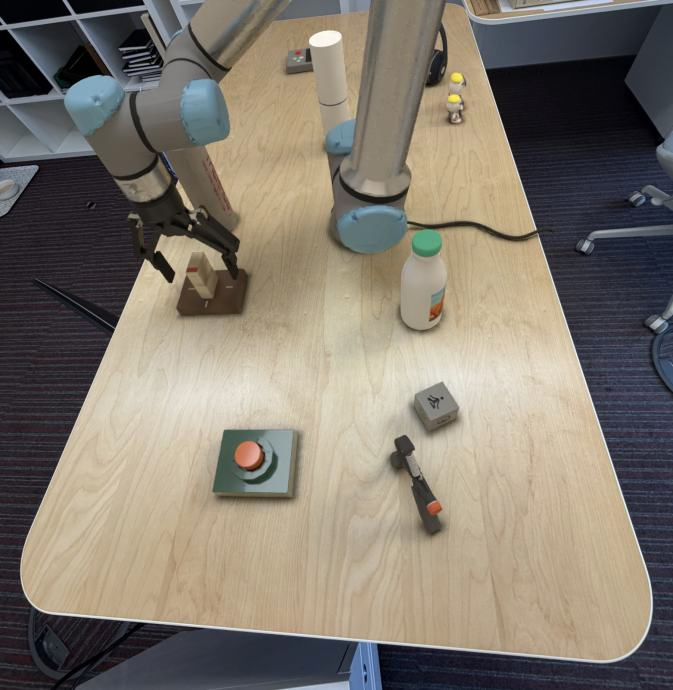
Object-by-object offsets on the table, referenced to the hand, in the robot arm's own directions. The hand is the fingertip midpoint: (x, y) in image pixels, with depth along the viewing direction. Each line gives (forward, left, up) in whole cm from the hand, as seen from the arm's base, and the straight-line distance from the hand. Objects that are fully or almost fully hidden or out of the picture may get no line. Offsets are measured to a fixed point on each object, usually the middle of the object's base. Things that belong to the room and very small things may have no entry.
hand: (203, 276), depth 83 cm
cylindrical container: (-25, -49, -6) cm, 55 cm away
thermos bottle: (+3, -22, -6) cm, 23 cm away
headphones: (-46, -79, -6) cm, 92 cm away
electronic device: (-14, -95, -6) cm, 96 cm away
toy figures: (-56, -59, -6) cm, 82 cm away
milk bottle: (-43, +7, -6) cm, 44 cm away
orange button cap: (-15, +36, -2) cm, 39 cm away
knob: (0, 0, -4) cm, 4 cm away
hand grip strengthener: (-40, +40, -6) cm, 57 cm away
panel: (0, 0, -6) cm, 6 cm away
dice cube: (-44, +27, -6) cm, 52 cm away
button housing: (-15, +36, -6) cm, 39 cm away
